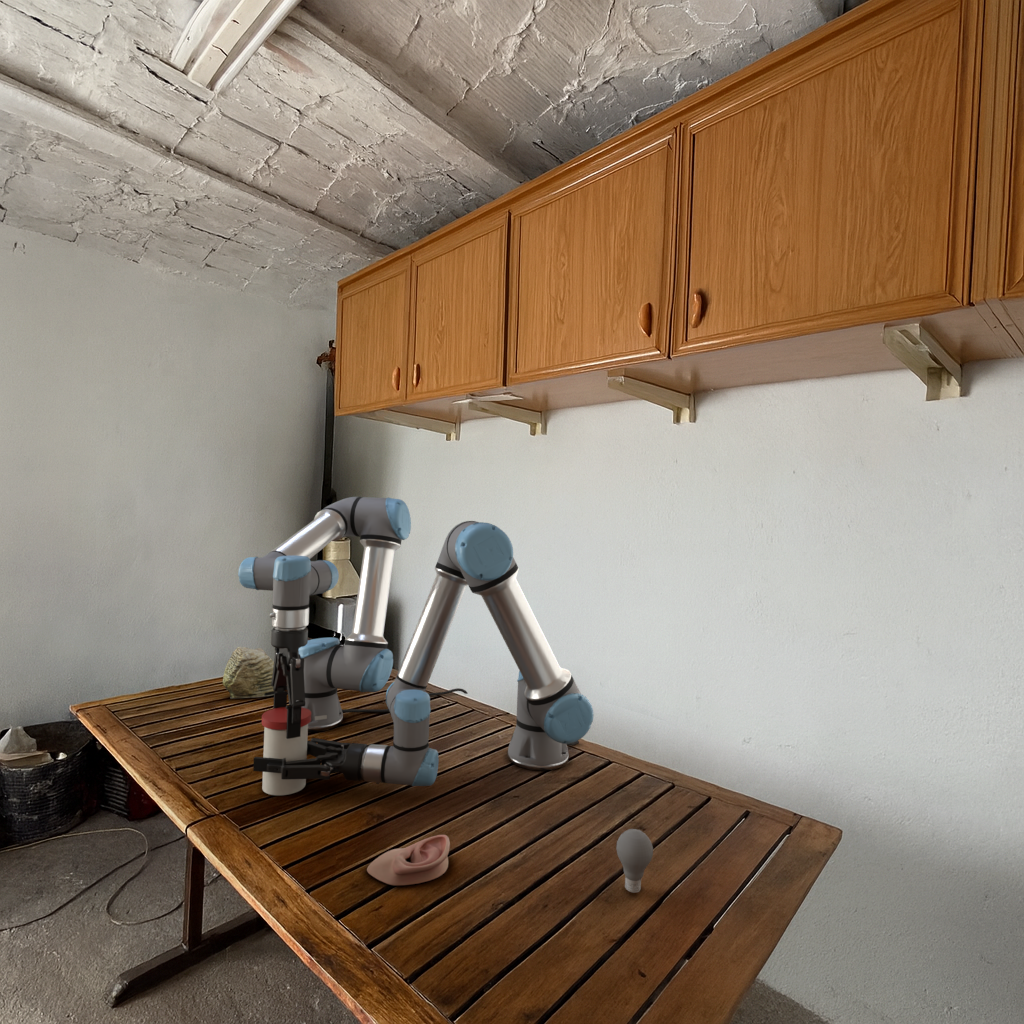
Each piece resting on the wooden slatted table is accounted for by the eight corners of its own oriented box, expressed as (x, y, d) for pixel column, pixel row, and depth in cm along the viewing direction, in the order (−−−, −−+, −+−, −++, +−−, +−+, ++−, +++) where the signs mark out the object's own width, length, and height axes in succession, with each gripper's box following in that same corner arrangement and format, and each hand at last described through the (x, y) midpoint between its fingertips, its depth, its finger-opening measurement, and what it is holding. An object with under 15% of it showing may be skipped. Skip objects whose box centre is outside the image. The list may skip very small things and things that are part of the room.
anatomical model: (359, 856, 105) (387, 822, 116) (358, 879, 105) (386, 843, 116) (435, 869, 102) (456, 833, 114) (434, 893, 103) (455, 855, 114)
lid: (251, 725, 134) (251, 718, 134) (281, 711, 144) (281, 704, 144) (292, 732, 131) (292, 725, 131) (320, 717, 141) (320, 710, 141)
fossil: (218, 695, 195) (220, 647, 195) (278, 685, 208) (279, 640, 207) (228, 703, 189) (230, 653, 188) (289, 692, 201) (290, 645, 201)
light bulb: (610, 879, 108) (613, 822, 108) (644, 879, 109) (647, 822, 109) (619, 902, 102) (622, 840, 102) (655, 901, 103) (658, 840, 103)
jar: (278, 774, 143) (281, 707, 143) (313, 780, 141) (316, 713, 141) (253, 791, 135) (255, 720, 135) (289, 798, 133) (292, 726, 132)
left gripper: (259, 619, 145) (255, 715, 145) (286, 639, 126) (282, 750, 126) (292, 616, 149) (289, 710, 149) (324, 636, 130) (320, 743, 131)
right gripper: (348, 803, 126) (239, 794, 127) (379, 759, 147) (286, 752, 149) (349, 766, 126) (240, 757, 127) (381, 727, 147) (287, 720, 149)
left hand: (286, 728), depth 138 cm, fingers closed on lid, 10 cm apart
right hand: (265, 754), depth 138 cm, fingers closed on jar, 9 cm apart
